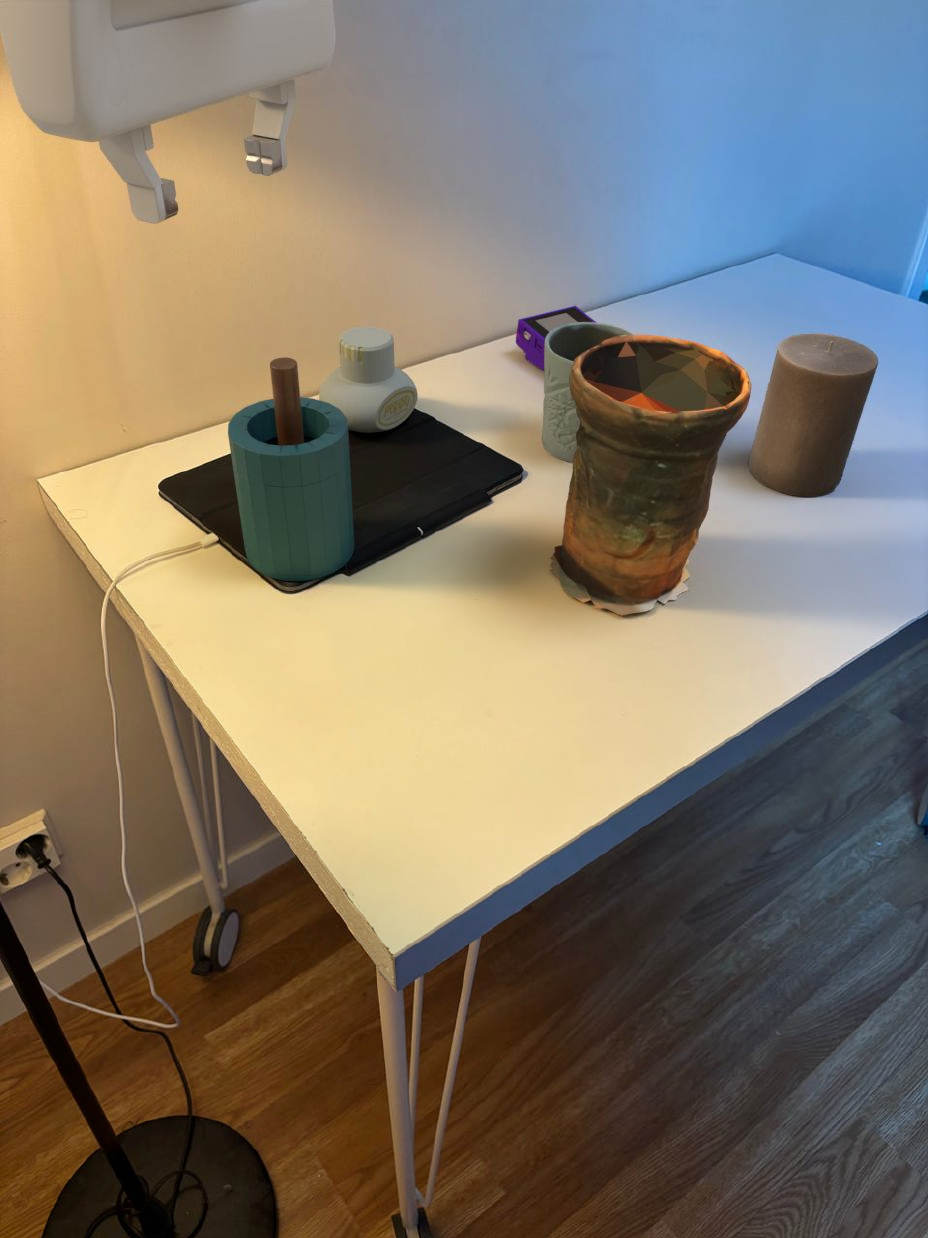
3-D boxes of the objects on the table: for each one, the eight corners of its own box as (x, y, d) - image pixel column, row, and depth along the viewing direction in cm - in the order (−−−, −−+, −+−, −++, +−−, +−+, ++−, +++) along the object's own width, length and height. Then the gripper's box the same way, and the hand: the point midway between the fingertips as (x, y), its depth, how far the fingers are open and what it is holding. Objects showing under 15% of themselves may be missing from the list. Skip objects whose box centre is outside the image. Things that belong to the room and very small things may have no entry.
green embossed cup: (589, 414, 111) (602, 314, 103) (646, 454, 104) (664, 350, 96) (517, 435, 106) (525, 333, 99) (571, 478, 100) (584, 372, 92)
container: (223, 560, 87) (203, 435, 79) (287, 507, 94) (274, 386, 86) (315, 594, 84) (304, 467, 76) (374, 536, 91) (369, 414, 83)
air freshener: (373, 392, 113) (371, 310, 107) (428, 414, 109) (428, 330, 103) (309, 427, 106) (301, 342, 100) (364, 451, 103) (360, 365, 96)
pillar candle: (848, 500, 98) (896, 365, 89) (753, 494, 99) (790, 358, 89) (828, 452, 106) (870, 322, 96) (740, 446, 106) (772, 316, 96)
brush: (270, 548, 88) (248, 366, 76) (295, 526, 91) (277, 348, 79) (307, 560, 87) (289, 378, 75) (331, 538, 90) (317, 359, 78)
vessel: (736, 596, 86) (793, 393, 73) (598, 635, 81) (633, 426, 68) (650, 512, 96) (686, 320, 83) (522, 543, 91) (540, 344, 78)
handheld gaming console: (591, 376, 110) (518, 316, 118) (583, 414, 114) (512, 353, 122) (652, 359, 114) (577, 301, 122) (642, 396, 118) (570, 338, 126)
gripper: (255, -144, 50) (280, 140, 59) (-68, -132, 36) (28, 238, 45) (357, -137, 48) (367, 156, 57) (56, -122, 34) (131, 263, 43)
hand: (215, 193), depth 51 cm, fingers open, 8 cm apart
